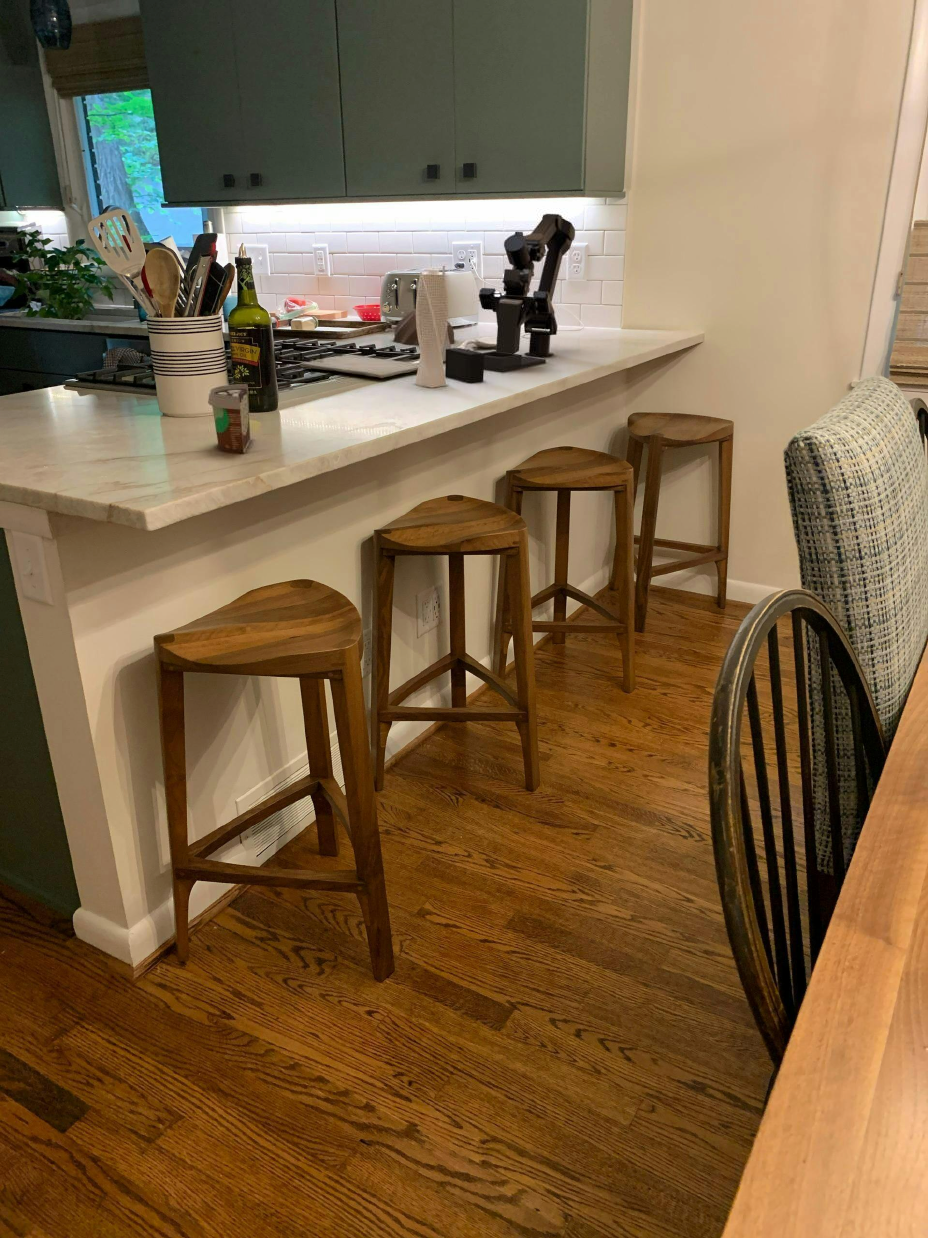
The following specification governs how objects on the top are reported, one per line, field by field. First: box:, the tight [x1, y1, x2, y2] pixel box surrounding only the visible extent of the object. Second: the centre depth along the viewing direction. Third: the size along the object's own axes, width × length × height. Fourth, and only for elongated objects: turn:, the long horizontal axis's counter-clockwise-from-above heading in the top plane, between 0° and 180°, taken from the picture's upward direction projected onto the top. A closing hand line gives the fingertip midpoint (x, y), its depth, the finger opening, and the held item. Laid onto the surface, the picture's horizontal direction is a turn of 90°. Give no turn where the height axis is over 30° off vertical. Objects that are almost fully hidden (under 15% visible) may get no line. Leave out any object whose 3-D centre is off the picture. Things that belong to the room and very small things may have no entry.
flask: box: [441, 323, 452, 363], centre depth 259 cm, size 7×7×10 cm
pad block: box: [495, 299, 523, 354], centre depth 246 cm, size 5×5×13 cm
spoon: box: [457, 336, 497, 349], centre depth 278 cm, size 9×32×4 cm, turn 153°
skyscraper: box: [415, 262, 449, 389], centre depth 221 cm, size 8×8×28 cm
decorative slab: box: [299, 354, 419, 379], centre depth 242 cm, size 27×21×2 cm
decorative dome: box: [393, 309, 455, 346], centre depth 293 cm, size 19×20×10 cm
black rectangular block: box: [444, 347, 485, 384], centre depth 234 cm, size 10×5×7 cm, turn 39°
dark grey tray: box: [483, 350, 547, 373], centre depth 258 cm, size 22×16×4 cm
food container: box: [207, 383, 251, 454], centre depth 164 cm, size 12×6×10 cm, turn 5°
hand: (507, 326), depth 244 cm, fingers closed on pad block, 5 cm apart
